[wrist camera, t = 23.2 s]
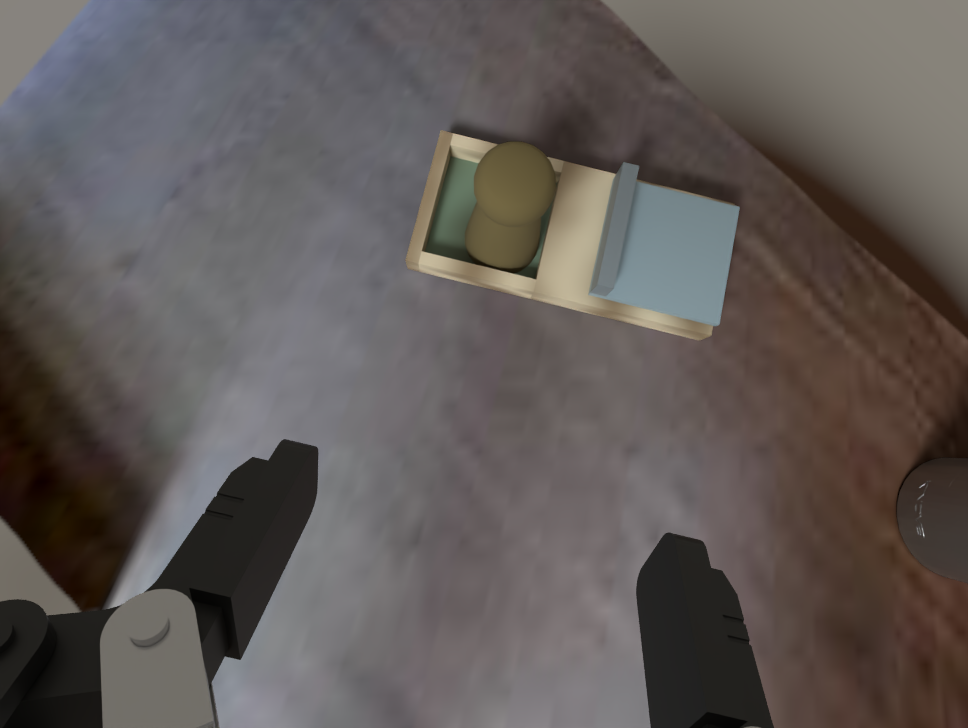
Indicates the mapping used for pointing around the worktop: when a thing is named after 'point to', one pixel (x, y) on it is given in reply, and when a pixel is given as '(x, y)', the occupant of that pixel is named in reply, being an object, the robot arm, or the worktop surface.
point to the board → (562, 242)
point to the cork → (509, 206)
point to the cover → (664, 250)
